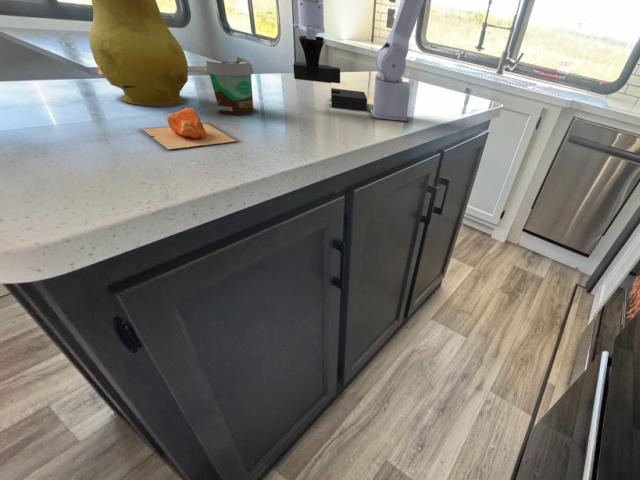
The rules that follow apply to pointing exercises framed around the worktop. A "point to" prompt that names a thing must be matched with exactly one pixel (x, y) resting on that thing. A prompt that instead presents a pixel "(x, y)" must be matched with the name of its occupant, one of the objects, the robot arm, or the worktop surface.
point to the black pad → (324, 74)
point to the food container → (232, 86)
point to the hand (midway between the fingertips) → (313, 72)
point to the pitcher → (138, 52)
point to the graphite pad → (348, 99)
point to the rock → (187, 131)
